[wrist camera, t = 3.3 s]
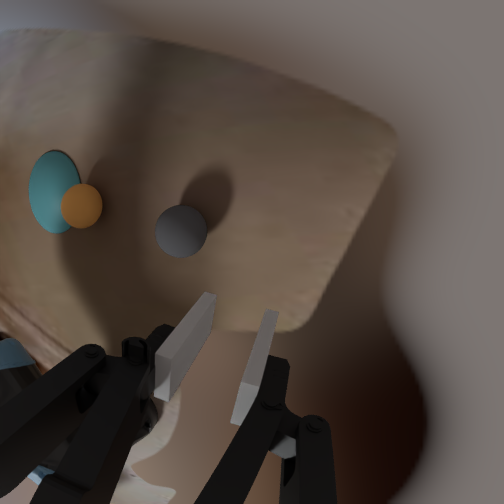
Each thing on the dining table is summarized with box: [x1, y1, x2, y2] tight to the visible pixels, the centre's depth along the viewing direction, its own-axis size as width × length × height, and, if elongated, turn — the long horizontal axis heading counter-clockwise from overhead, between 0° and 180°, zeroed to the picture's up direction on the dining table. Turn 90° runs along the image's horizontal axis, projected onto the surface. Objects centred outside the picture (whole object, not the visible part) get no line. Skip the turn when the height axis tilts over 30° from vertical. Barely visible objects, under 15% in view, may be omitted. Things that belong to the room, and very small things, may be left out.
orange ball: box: [61, 184, 102, 228], centre depth 34 cm, size 6×6×6 cm
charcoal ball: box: [155, 205, 207, 258], centre depth 32 cm, size 6×6×6 cm
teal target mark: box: [29, 151, 80, 233], centre depth 37 cm, size 12×12×1 cm
